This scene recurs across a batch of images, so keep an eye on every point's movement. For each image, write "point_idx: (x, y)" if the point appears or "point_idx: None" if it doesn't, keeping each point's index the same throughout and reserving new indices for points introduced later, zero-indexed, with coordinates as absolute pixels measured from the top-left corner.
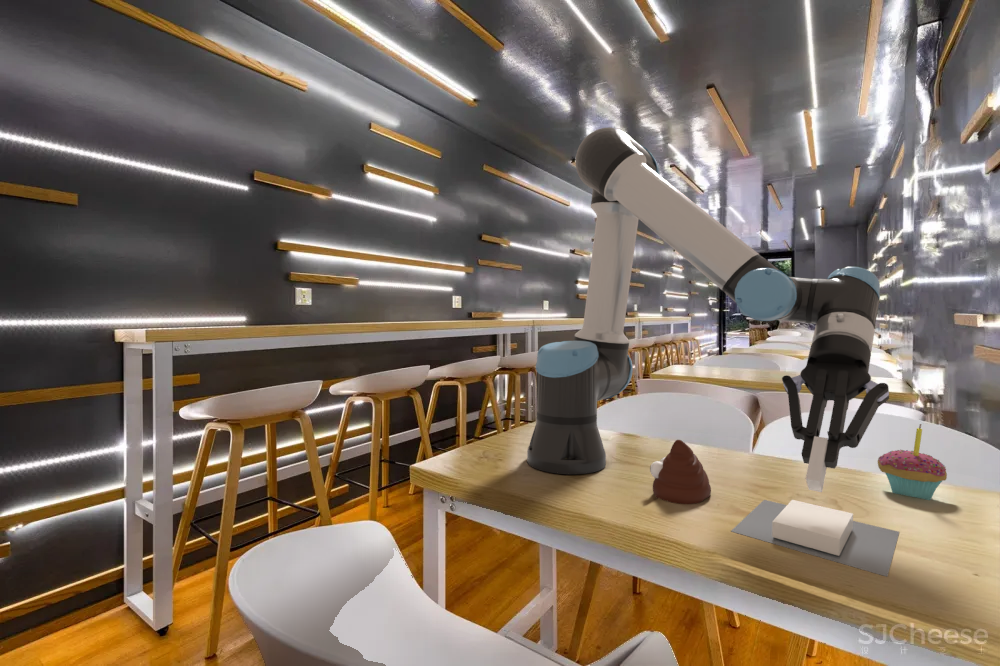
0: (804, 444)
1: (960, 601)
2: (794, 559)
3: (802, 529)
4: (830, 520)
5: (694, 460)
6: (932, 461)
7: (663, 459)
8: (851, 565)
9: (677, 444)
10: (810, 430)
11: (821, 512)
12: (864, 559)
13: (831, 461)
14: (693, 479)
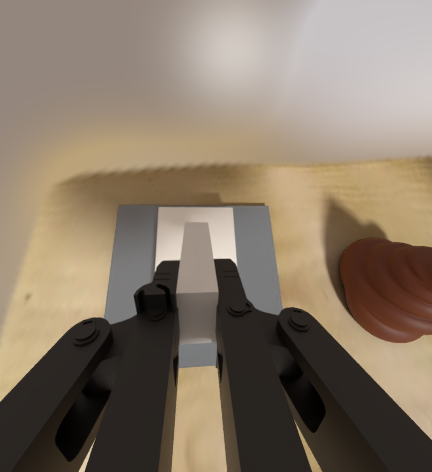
0: (239, 285)
1: (62, 212)
2: (200, 198)
3: (198, 207)
4: None
5: (417, 279)
6: None
7: None
8: (150, 206)
9: None
10: (238, 307)
11: None
12: (139, 230)
13: (166, 261)
14: (374, 258)
